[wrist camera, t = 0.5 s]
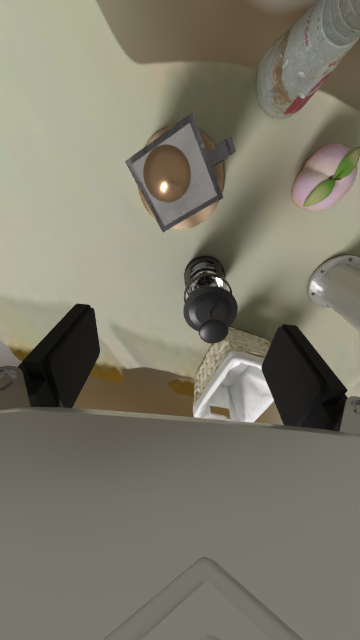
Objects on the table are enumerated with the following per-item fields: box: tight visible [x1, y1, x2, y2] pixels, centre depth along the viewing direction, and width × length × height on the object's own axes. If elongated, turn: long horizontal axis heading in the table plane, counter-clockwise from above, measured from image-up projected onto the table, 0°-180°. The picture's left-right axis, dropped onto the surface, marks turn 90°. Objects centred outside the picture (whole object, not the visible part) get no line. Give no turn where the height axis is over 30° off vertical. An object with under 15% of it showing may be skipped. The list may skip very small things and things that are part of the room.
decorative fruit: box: [291, 143, 360, 211], centre depth 34 cm, size 9×8×10 cm
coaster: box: [138, 125, 224, 229], centre depth 39 cm, size 16×16×1 cm
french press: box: [183, 256, 238, 343], centre depth 39 cm, size 12×9×23 cm
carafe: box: [125, 113, 236, 232], centre depth 32 cm, size 12×9×15 cm
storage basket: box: [193, 327, 274, 422], centre depth 56 cm, size 24×16×15 cm
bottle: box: [256, 0, 360, 118], centre depth 20 cm, size 9×9×28 cm
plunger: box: [143, 144, 191, 202], centre depth 24 cm, size 6×6×19 cm
